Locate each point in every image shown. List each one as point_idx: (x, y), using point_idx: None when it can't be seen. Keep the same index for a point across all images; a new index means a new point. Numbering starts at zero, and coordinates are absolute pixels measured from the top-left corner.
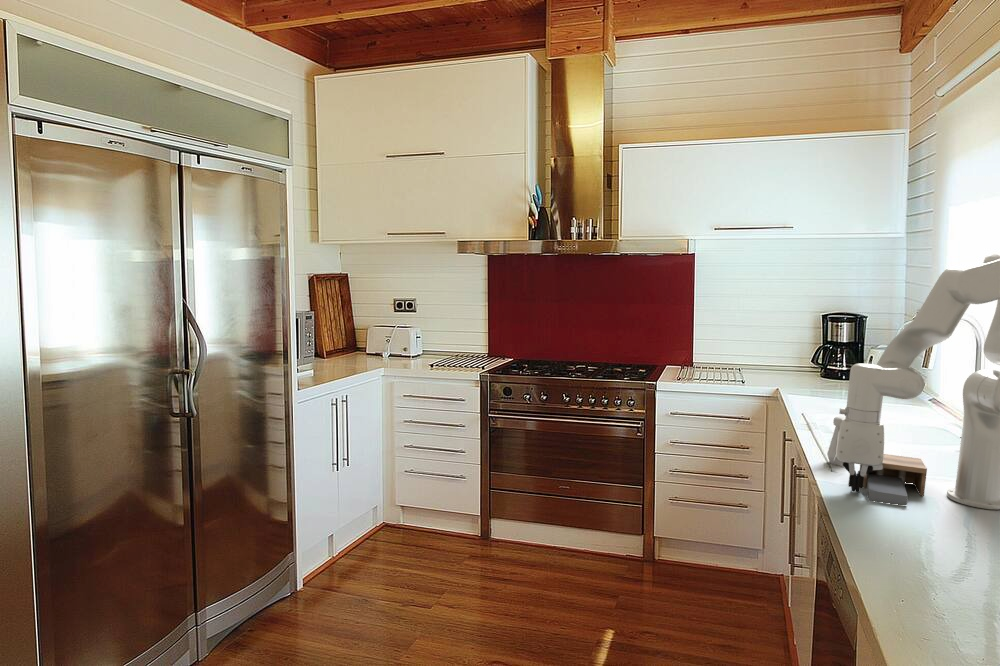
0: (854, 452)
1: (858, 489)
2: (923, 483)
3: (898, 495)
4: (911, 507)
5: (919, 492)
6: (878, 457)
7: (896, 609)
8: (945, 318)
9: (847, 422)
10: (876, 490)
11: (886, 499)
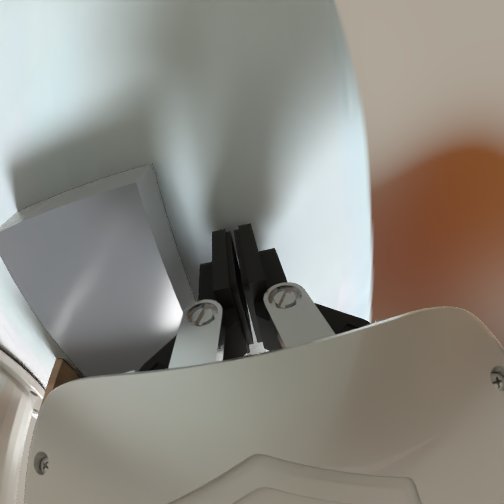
0: (361, 472)
1: (218, 236)
2: (48, 392)
3: (14, 223)
4: (7, 217)
5: (71, 373)
6: (49, 456)
7: None
8: None
9: None
10: (103, 216)
11: (67, 195)
